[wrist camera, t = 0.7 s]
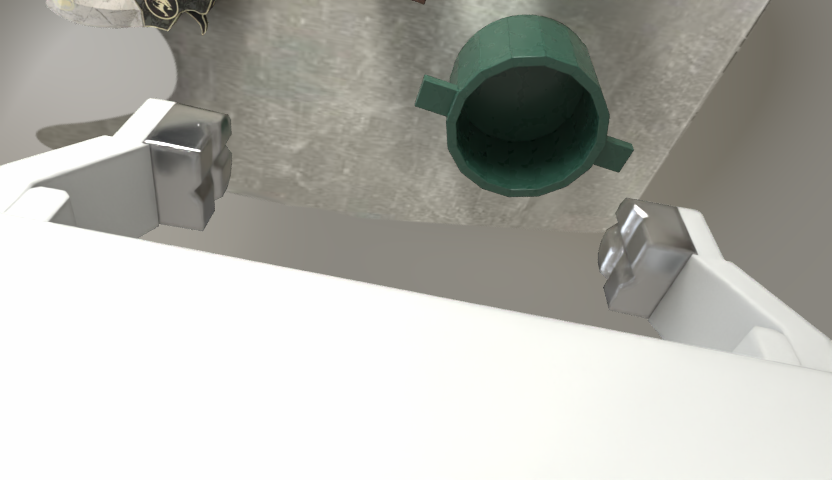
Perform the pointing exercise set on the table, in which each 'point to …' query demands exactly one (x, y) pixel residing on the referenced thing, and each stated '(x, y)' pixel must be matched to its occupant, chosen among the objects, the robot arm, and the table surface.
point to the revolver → (131, 12)
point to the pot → (524, 109)
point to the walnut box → (420, 1)
